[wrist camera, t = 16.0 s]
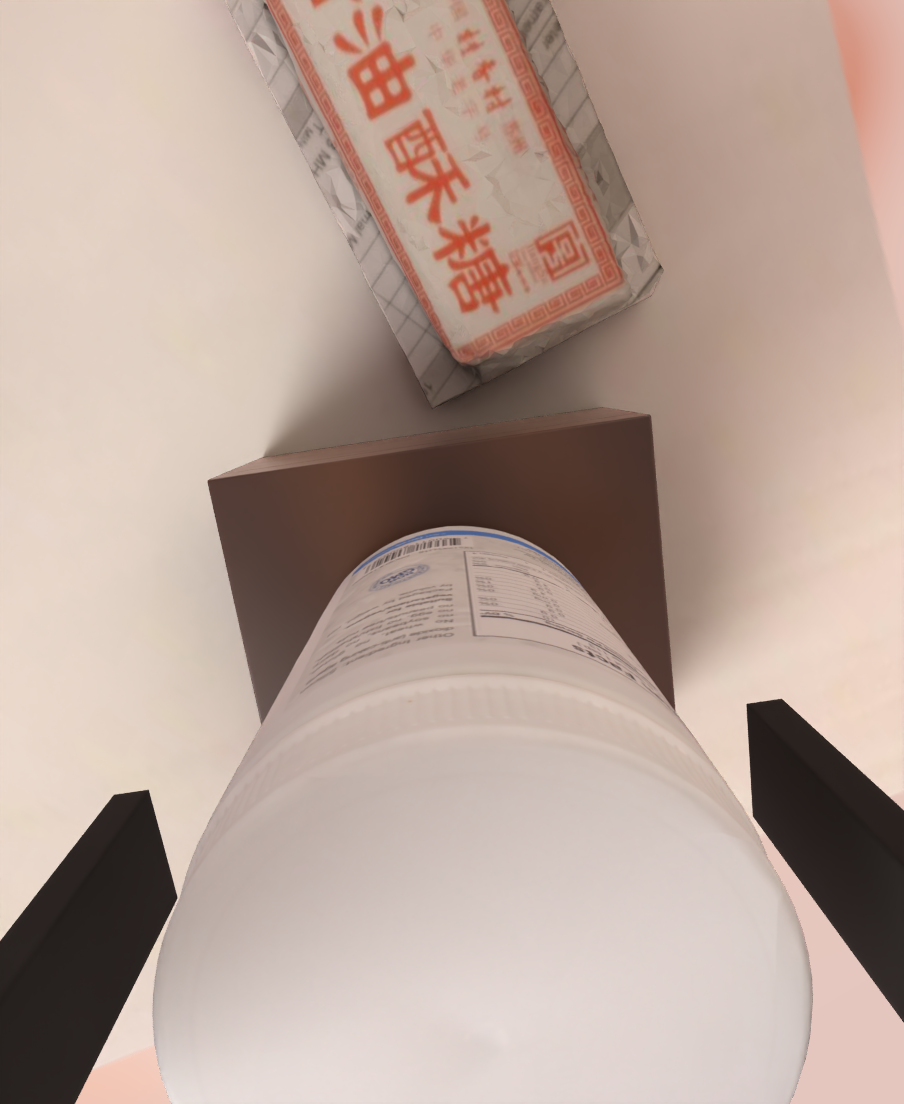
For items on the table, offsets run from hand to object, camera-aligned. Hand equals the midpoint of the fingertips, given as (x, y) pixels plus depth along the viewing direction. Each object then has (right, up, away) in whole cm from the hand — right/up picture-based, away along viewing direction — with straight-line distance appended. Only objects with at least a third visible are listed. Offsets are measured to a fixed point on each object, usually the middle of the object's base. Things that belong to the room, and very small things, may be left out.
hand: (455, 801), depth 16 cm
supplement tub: (0, +2, +9) cm, 9 cm away
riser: (0, +4, +15) cm, 16 cm away
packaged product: (-1, +21, +11) cm, 24 cm away
